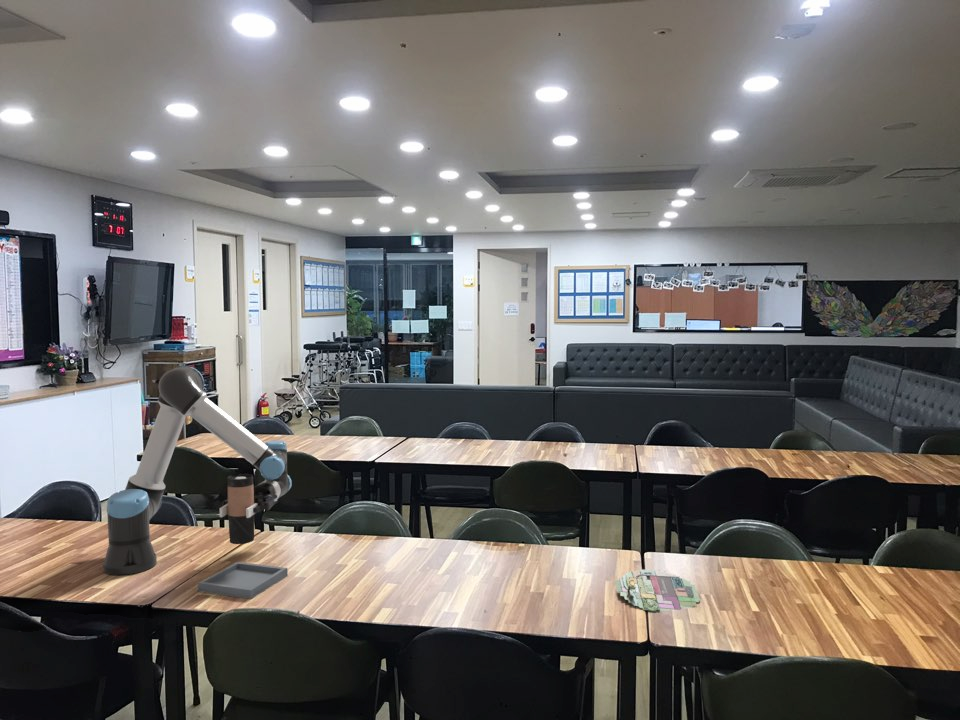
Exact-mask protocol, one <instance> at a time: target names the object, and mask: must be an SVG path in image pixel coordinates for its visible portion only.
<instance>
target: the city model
mask: <svg viewBox="0 0 960 720" xmlns="http://www.w3.org/2000/svg"><path fill="white" fill-rule="evenodd" d="M625 573H626V574H625ZM625 573H624V574H623V575H622V576H621V577H619V578H618V579H615V586H616V592H618V593H620V594H619V595H620V597H623V598H624V600H625V601H628V603H629V604H631V605H633V606H634V607H635V606H636V607H638V608H640V609H642V610H643V611H644V612H645V611H646V612H652V613H657V612H658V613H659V612H666V611H674V610H675V611H676V610H679V611H680V610H686V609H693V607H695V608H696V607H697V608H698V606H697V603H700V601H701V599H700V596H699V593H698V591H697V588H696V585H695V584H691V581H689V580H687V579H684V578H683V577H682V578H681V577H680V576H679V575H677V574H674V573H673V574H672V573H669V572H666V571H663V570H662V571H661V570H655V569H638V570H630V571H626V572H625Z"/></svg>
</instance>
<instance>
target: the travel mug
mask: <svg viewBox="0 0 960 720" xmlns="http://www.w3.org/2000/svg"><path fill="white" fill-rule="evenodd" d="M227 499H228V514H227V518H228V533H229V542H230V543H231V544H233V545H246V544H249V543H252V542H253V541H254V540H255V514H254V515H252V516H251V517H249V518H246V509H247V508H249V507H250V506H252V505H253V504H254V475H253V474H250V473H240V474H237V475H235V476H233V475H229V476H227Z"/></svg>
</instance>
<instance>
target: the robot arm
mask: <svg viewBox="0 0 960 720" xmlns="http://www.w3.org/2000/svg"><path fill="white" fill-rule="evenodd" d="M204 388H205V380H204V377H203V375H202V373H201V372H200V371H199V370H198V369H196V368H195V367H192V366H188V365H187V366H186V365H180V366H177V367H175V368H173V369H170V370H168V371H166V372H165V373H163V375H162V376H161V377H160V379H159V382H158V391H159V396H158V398H157V403H158V404H159V407H160V408H159V410H158V413H157V415H156V419H155V421H154V424H153V426H152V429H151V432H150V435H149V437H148V440H147V443H146V445H145V449H144V451H143V454H142V457H141V458H140V459H141V460H140V462H139V465H138V468H137V470H136V473H135V474H134V475H132V476H130V477H129V478H128V481H127V483H126V486H125V489H123V490H120V491H118V492H115V493H113V494H111V495H110V496H109V497H108V499H107V503H106V512H107V532H108V533H107V536H108V537H107V538H108V547H107V551H106V552H105V559H104V561H103V563H102V564H103V566H102V569H103V573H105V574H107V575H112V576H123V575H124V576H127V575H133V574H137V573H141V572H145V571H147V570H150V569H152V568H154V567H156V565H157V563H158V561H157V554H156V552H155V550H154V547H153V544H152V542H151V535H150V534H151V533H150V532H151V531H150V521H151V519H152V518H153V517H154V516H155V515H156V514H157V512H158V511H159V510H160V508H161V507H162V503H163V495H164V492H165V490H166V484H165V483H164V478H165V475H166V473H167V470H168V468H169V465H170V462H171V460H172V456H173V453H174V452H175V451H174V450H175V449H176V445H177V442H178V440H179V437H180V435H181V432H182V430H183V427H184V424H185V420H186V418H187V417H191V418H192V419H194V420H195V421H196V422H197V423H199V424H200V425H201V426H202V427H204V428H205V429H206V430H207V431H208V432H210V433H212V434H213V435H214V436H216V437H217V438H218V439H219V440H220V441H222V442H223V443H224V444H225V445H227V446H228V447H229V448H231V449H232V450H233V451H235V452H236V453H237V454H238V455H240V457H242V458H243V459H245V460H246V461H247V462H249V463H250V464H251V465H252V466H253V467H254V468H256V469H257V470H258V471H259V472H260V474H261V476H262V478H264V481H262V482H260V483H258V484H257V485H255V486H253V488H254V504H253V505H252V506H250V507H249V508H247V509H246V518H249V517H251V516H252V515H254V516H255V515H256V514H258V513H259V512H263V510H264V511H265V512H268V511H269V510H271V508H272V507H274V505H276V504H278V499H280V498H281V497H282V496H284V495H286V494H287V493H288V492H289V491H290V489H291V488H292V484H293V483H292V479H291V476H290V475H288V449H287V442H286V441H284V440H270V441H266V442H265V443H264V442H263V441H262V440H261V439H259V438H258V437H257V436H256V435H254V433H252V432H250V430H248V429H247V428H245V427H244V425H242V424H240V422H238V421H237V420H235V419H234V418H233V417H232V416H231V415H229V414H228V413H227V412H226V411H225V410H223V409H222V408H220V407H219V406H218V405H217V404H215V403H214V402H213V401H212V400H210V399H209V398H208V396H207V395H208V394H207V392H206V391H205V390H204ZM226 515H227V516H228V498H227V499H225V500H223V501H222V502H221V507H219V518H223V517H225V516H226Z"/></svg>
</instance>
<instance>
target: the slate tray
mask: <svg viewBox="0 0 960 720" xmlns="http://www.w3.org/2000/svg"><path fill="white" fill-rule="evenodd" d="M288 573H289V572H288V567H282V566H274V565H265V564H260V563H250V562H249V563H248V562H242V561H236V562H234V563H232V564H230V565H229V566H226V567H224V568H223V569H221V570H219V571H217V572H215V573H214V574H212V575H210V576H209V577H208V576H207V577H206V578H204V579H203V580H200V581H199V582H197V592H199V593H205V594H206V593H207V594H214V595H220V596H228V597H234V598H241V599H249V600H252V599H254V598H255V597H257V596H258V595H260V594H261V593H263V592H265V591H266V590H268V589H270V588H271V587H272V586H275V585H277V583H279V582H280V581H282V580H283V579H285V578H287V577H289V575H288Z"/></svg>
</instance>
